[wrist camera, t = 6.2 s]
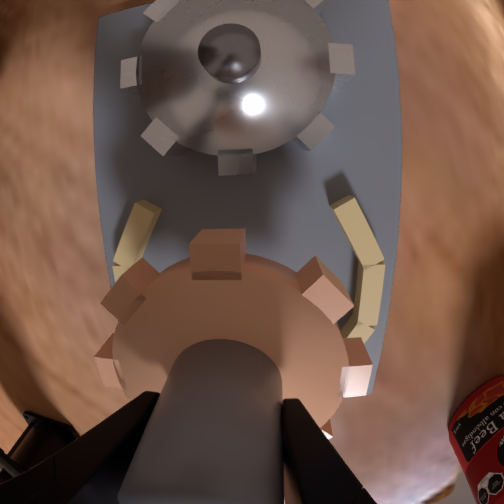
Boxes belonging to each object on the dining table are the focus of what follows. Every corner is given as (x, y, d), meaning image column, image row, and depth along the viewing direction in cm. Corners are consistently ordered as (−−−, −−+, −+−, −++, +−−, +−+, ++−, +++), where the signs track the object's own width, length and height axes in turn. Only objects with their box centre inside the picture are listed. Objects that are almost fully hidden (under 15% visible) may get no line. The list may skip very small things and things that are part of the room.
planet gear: (141, 425, 11) (94, 538, 6) (93, 233, 9) (-56, 321, 3) (342, 432, 11) (363, 561, 5) (372, 227, 8) (504, 344, 3)
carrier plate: (143, 377, 18) (131, 399, 16) (109, 24, 12) (88, 11, 10) (366, 381, 17) (375, 405, 15) (380, 8, 11) (394, -10, 9)
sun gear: (147, 176, 13) (111, 185, 10) (147, 7, 11) (117, -23, 8) (342, 171, 13) (365, 177, 10) (332, -5, 10) (347, -43, 7)
